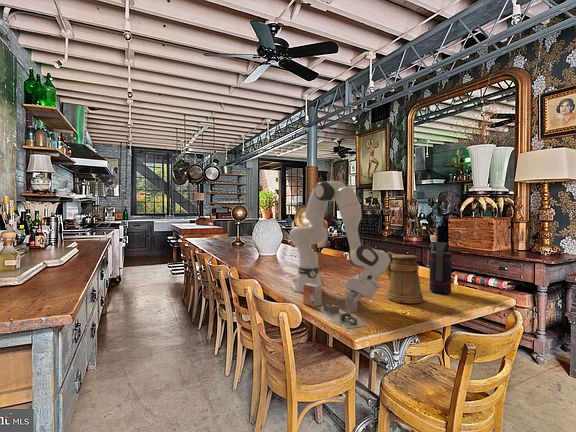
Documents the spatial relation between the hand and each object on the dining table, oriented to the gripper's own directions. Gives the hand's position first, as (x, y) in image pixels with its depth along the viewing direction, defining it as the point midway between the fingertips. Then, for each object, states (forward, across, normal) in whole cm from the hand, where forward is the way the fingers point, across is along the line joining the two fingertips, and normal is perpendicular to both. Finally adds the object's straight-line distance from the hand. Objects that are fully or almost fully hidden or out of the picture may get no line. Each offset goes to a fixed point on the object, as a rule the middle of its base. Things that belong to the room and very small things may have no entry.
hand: (350, 299), depth 163 cm
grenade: (-45, -11, +52) cm, 70 cm away
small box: (+13, -15, -6) cm, 21 cm away
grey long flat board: (+10, +6, -3) cm, 12 cm away
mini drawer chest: (+3, 0, +4) cm, 5 cm away
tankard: (-23, -8, +30) cm, 39 cm away
